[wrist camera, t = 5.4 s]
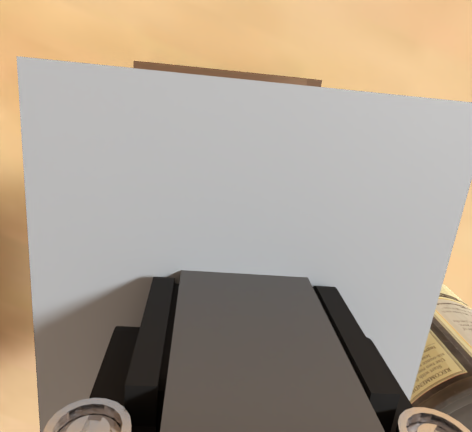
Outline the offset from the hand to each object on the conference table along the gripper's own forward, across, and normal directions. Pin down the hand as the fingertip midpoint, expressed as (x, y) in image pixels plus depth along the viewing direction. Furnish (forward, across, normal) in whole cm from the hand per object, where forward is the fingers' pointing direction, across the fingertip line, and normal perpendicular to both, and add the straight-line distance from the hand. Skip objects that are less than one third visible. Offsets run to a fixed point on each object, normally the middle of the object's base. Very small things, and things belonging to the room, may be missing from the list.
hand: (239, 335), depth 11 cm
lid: (+1, 0, 0) cm, 1 cm away
